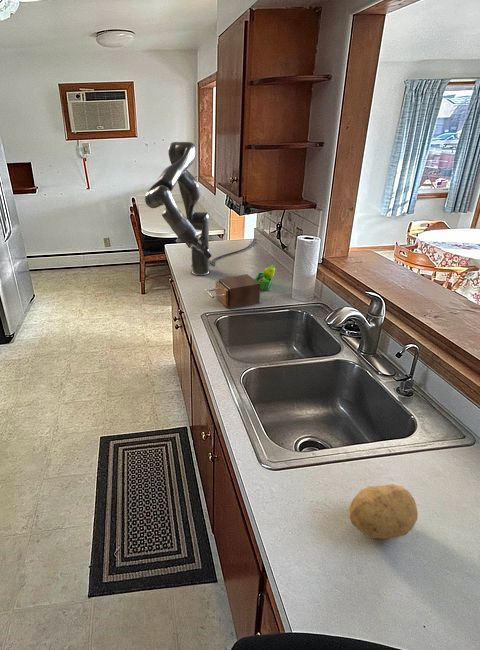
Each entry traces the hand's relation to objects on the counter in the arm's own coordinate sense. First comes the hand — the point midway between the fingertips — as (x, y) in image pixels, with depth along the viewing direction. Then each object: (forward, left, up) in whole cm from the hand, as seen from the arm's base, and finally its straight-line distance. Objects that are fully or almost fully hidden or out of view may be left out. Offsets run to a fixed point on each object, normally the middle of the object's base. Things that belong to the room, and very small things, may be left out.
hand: (204, 255), depth 166 cm
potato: (+74, +80, -24) cm, 112 cm away
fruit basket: (-33, +16, -24) cm, 44 cm away
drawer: (-8, +8, -23) cm, 25 cm away
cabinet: (-12, +11, -24) cm, 29 cm away
